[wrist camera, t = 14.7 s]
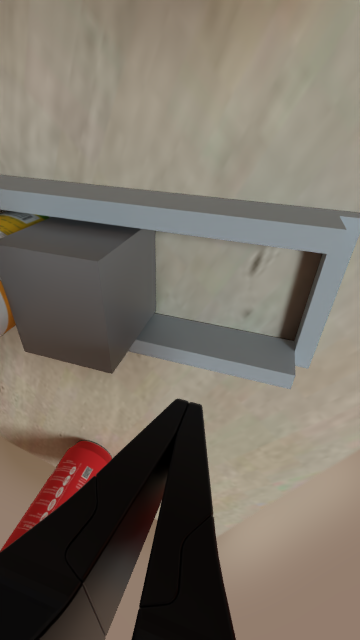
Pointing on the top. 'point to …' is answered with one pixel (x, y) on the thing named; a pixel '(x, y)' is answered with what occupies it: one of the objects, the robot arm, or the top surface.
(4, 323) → the supplement bottle
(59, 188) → the tray
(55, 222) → the block
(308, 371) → the top surface
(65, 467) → the beverage can
